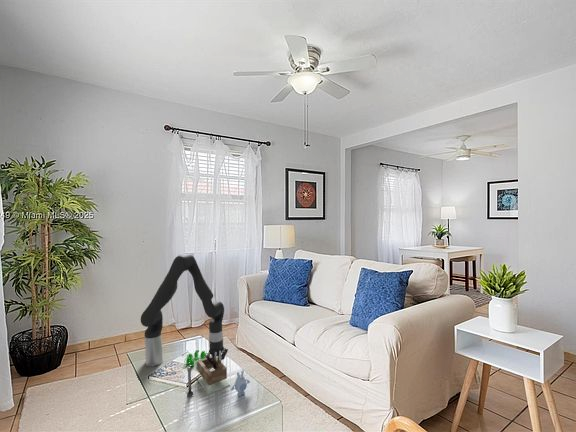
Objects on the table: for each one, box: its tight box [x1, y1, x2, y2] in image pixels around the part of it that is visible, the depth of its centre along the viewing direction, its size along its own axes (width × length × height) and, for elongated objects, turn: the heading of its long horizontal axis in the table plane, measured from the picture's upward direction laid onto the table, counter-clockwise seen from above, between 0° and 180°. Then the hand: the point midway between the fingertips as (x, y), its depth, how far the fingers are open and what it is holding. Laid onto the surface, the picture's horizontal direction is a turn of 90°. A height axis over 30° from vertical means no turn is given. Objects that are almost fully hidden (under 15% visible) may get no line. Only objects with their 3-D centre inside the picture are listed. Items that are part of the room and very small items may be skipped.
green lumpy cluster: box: [184, 349, 208, 367], centre depth 191 cm, size 15×15×7 cm
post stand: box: [186, 366, 194, 398], centre depth 159 cm, size 3×3×14 cm
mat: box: [197, 369, 230, 395], centre depth 171 cm, size 18×12×1 cm, turn 36°
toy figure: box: [231, 370, 251, 397], centre depth 160 cm, size 11×6×12 cm, turn 127°
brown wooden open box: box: [196, 355, 228, 385], centre depth 171 cm, size 16×10×6 cm, turn 37°
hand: (217, 368), depth 175 cm, fingers closed on brown wooden open box
